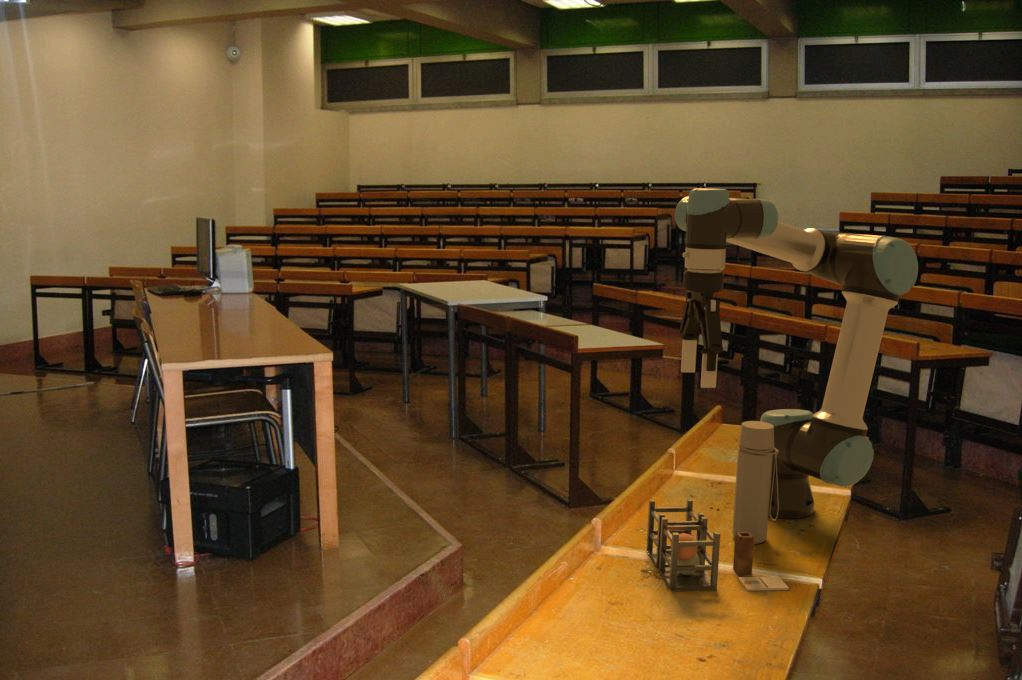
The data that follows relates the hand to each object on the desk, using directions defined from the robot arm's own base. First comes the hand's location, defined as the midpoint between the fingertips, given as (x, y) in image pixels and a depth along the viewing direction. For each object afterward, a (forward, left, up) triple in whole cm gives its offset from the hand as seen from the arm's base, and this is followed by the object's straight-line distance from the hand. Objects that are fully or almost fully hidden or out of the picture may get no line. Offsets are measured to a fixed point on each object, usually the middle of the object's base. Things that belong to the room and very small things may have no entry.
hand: (697, 379), depth 190 cm
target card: (-11, +13, -37) cm, 40 cm away
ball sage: (+3, +9, -33) cm, 35 cm away
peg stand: (-9, +7, -37) cm, 38 cm away
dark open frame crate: (+3, +10, -37) cm, 38 cm away
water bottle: (-17, -9, -37) cm, 42 cm away
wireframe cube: (+3, 0, -37) cm, 37 cm away
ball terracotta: (+4, +12, -29) cm, 32 cm away
